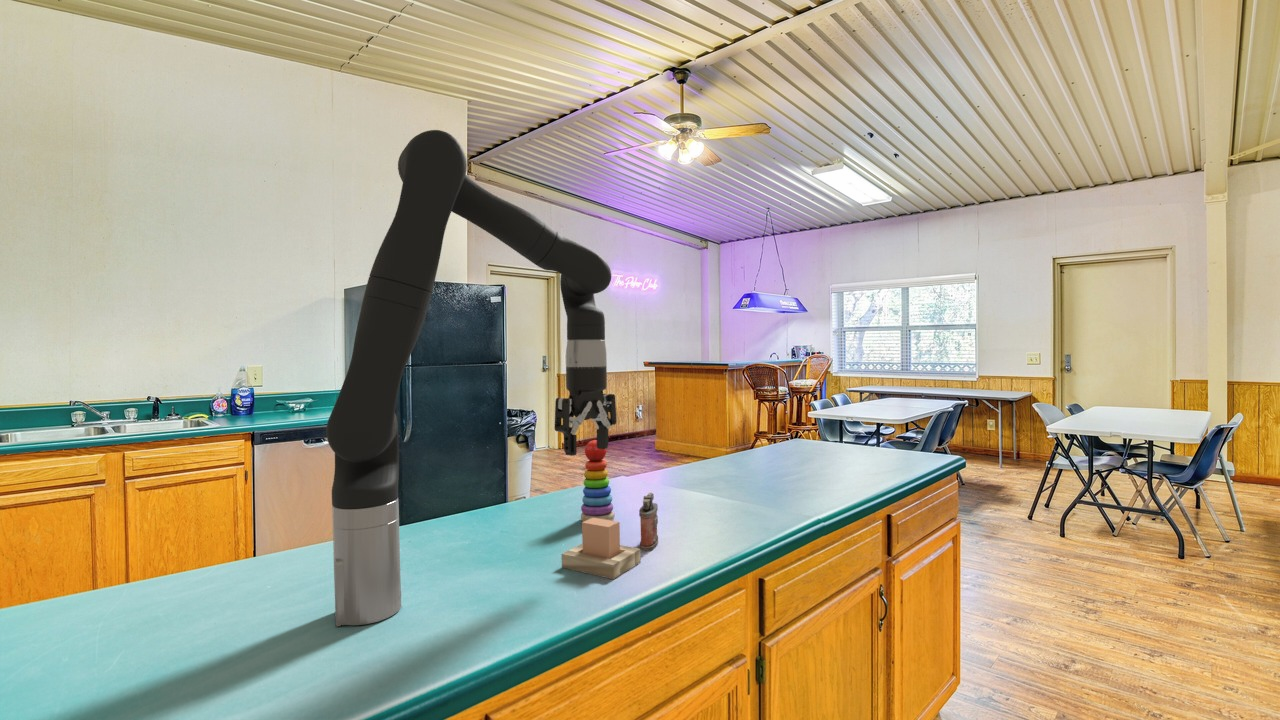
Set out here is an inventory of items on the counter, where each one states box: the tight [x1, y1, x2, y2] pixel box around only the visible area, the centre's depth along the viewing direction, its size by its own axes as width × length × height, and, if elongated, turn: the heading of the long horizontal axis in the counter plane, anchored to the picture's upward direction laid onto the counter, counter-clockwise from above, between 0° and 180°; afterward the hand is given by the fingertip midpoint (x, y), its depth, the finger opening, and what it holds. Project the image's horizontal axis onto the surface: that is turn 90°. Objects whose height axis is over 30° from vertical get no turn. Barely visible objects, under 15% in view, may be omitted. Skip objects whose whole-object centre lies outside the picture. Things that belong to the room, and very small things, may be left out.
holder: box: [561, 542, 642, 580], centre depth 107 cm, size 9×12×2 cm
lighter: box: [638, 492, 659, 552], centre depth 117 cm, size 8×3×10 cm, turn 168°
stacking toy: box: [580, 439, 615, 522], centre depth 135 cm, size 8×8×19 cm
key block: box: [581, 518, 621, 559], centre depth 107 cm, size 4×6×8 cm, turn 59°
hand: (587, 451), depth 107 cm, fingers open, 8 cm apart
